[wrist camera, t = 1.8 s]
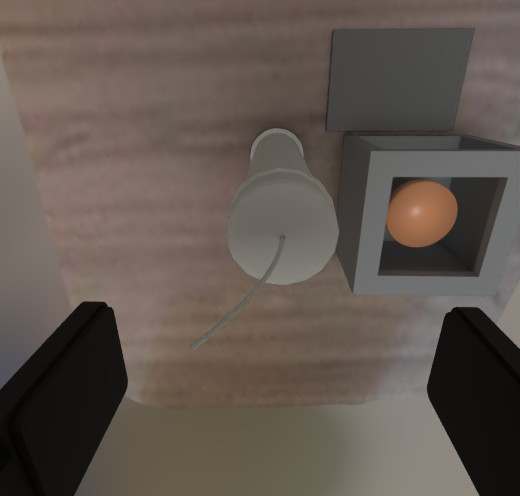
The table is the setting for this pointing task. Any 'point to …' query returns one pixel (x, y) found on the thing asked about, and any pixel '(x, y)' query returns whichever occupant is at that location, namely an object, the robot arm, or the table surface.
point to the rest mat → (396, 79)
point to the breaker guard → (460, 235)
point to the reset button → (420, 213)
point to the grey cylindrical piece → (278, 218)
